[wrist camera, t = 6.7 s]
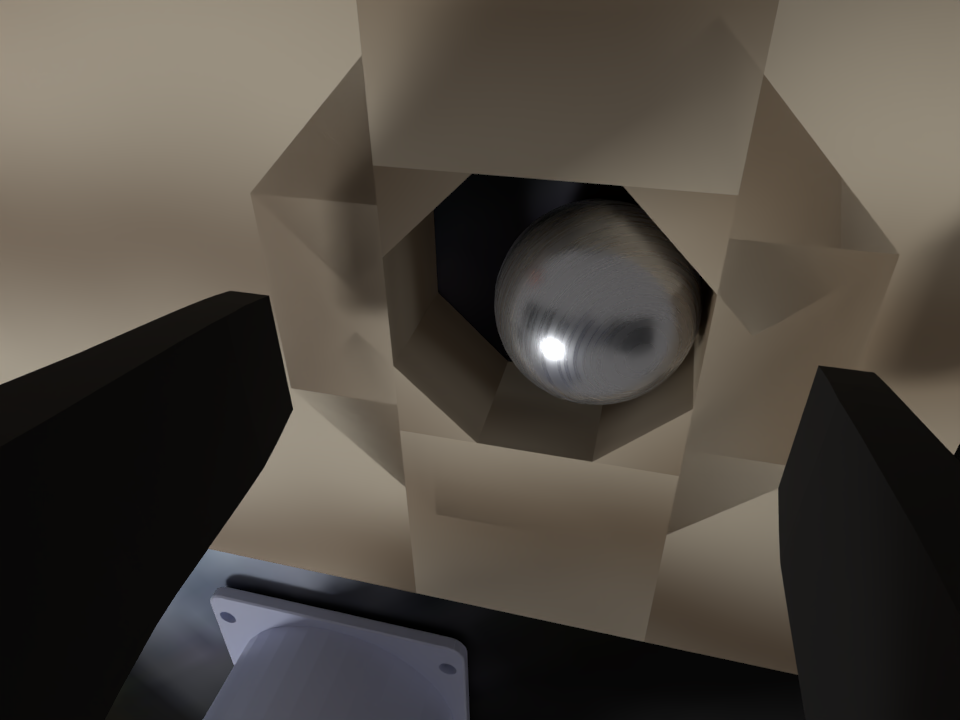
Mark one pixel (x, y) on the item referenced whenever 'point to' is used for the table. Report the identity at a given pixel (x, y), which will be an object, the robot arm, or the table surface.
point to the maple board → (447, 334)
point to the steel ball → (597, 303)
